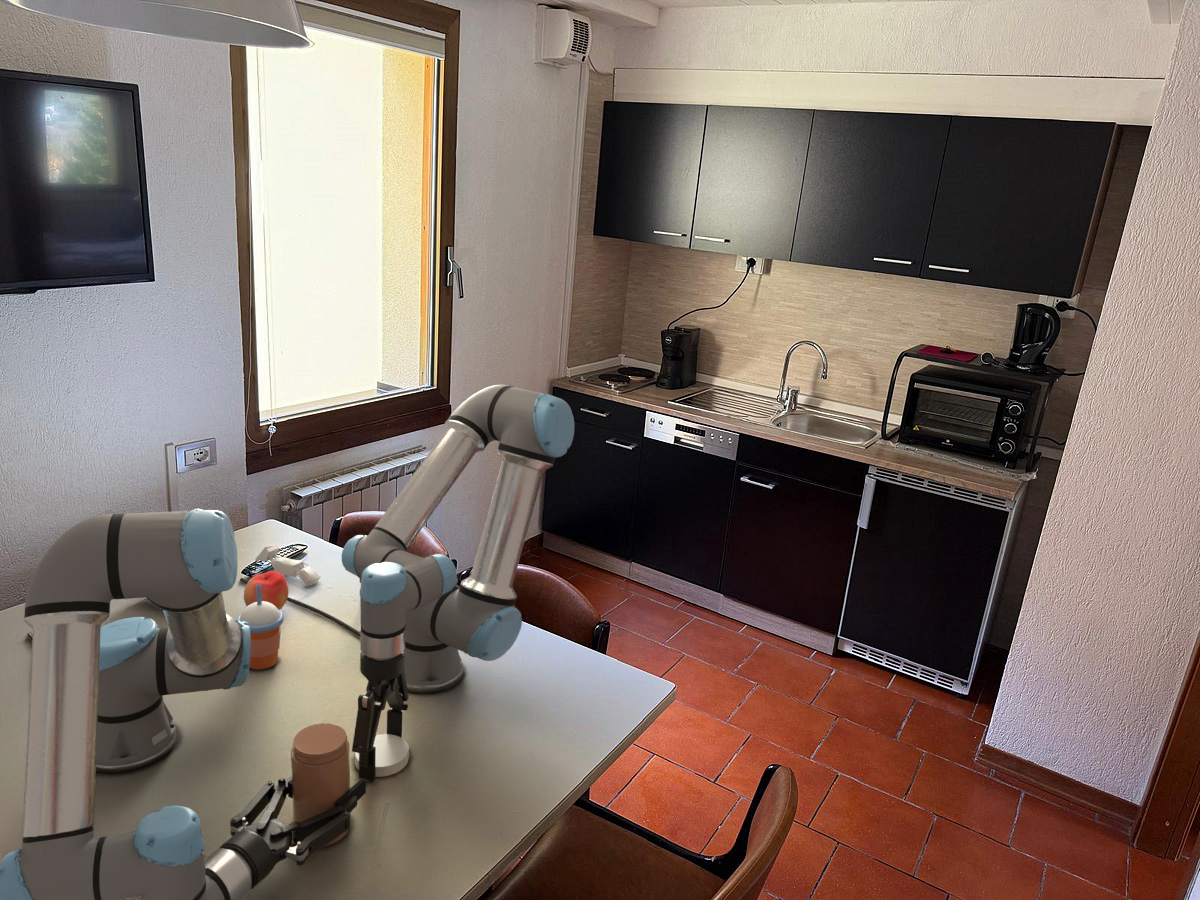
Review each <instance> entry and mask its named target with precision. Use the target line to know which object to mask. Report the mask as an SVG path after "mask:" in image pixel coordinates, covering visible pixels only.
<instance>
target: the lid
mask: <svg viewBox="0 0 1200 900" xmlns="http://www.w3.org/2000/svg"><path fill="white" fill-rule="evenodd" d="M373 746H374V747H376V760H375V778H382V777H388V776H392V775H394V774H397V773H399V772H400V771H402V770H403V769H404V768H405V767H406V766H407V764H408V763H409V758H410V747H409V744H408V742H407V741H406V740H405V739H404V738H403V737H402V738H401V737H399V736H396V735H392V734H387V733H379V734H376V736H375V741H374V745H373ZM354 765H355V767H356V770H358V771H359V753H356V752H354Z"/></svg>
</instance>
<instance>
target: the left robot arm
mask: <svg viewBox="0 0 1200 900" xmlns="http://www.w3.org/2000/svg"><path fill="white" fill-rule="evenodd" d="M237 577H238V549H237V543H236V539H235V531H234V527H233V524H232V521H231V519H230V517H229V516H228V515H227V514H226V513H225V512H223V511H221V510H217V509H202V508H193V509H191V510H176V511H155V512H154V511H152V512H131V513H130V512H129V513H127V512H126V513H104V514H103V513H102V514H98V515H93V516H91V517H88V518H85V519H84V520H82V521H79V522H78V523H76V524H75V525H73V526H72V527H70V528H69V529H67V530H66V531H65V532H63V533H62V535H60V536H59V537H57V539H56V540H55V542H53V544H52V545H51V546H50V547H49V548H48V549H47V550H46V552H45V553H44V555H43V556H42V558H41V560H40V561H39V563H38V565H37V566H36V569H35V571H34V573H33V575H32V577H31V579H30V582H29V585H28V587H27V591H26V596H25V603H24V617H23V622H24V623H25V624H26V625H28V626H29V627H30V628H31V630H32V632H27V634H26V635H27V637H28V638H29V639H30V641H31V642H32V644H31V661H30V663H31V664H30V680H29V681H30V682H29V697H28V698H29V699H28V700H29V701H28V718H27V736H26V738H27V739H26V740H27V741H26V754H25V756H26V758H25V774H24V775H25V778H24V791H23V793H24V795H23V813H22V814H23V815H22V830H21V831H22V833H21V837H22V842H21V848H20V847H19V848H18V849H16V850H11V851H9V852H8V853H6V854H5V855H4V856H3V857H2V859H1V861H0V900H126V899H131V898H136V897H140V900H243V899H244V898H245V897H246V896H247V895H248V894H249V892H250V891H251V890H253V889H254V888H256V887H257V886H258V885H259V884H260V883H261V882H262V881H263V880H265V878H267V877H268V875H270V874H271V872H272V871H273V869H274V868H275V866H276V865H277V864H278V863H280V862H281V861H283V860H286V859H287V858H290V859H293V860H295V864H296V865H297V866H303V865H304V864H306V862H307V861H308V860H309V859H310V857H311V856H312V855H313V854H315V853H316V852H319V850H321V849H323V848H324V847H326V846H325V845H327V844H328V843H330V842H331V841H333V840H334V839H335V838H337V837H338V836H340V835H341V834H343V833H344V832H346V831H347V830H348V831H349V830H350V829H351V813H352V811H353V810H355V809H356V808H357V806H358V801H359V800H360V799H361V798H363V796H365V795H366V794H367V780H366V779H365V778H361V779H359V780H358V781H356V783H355V784H353V785H352V786H350V789H349V790H348V791H347V792H346V793H345V794H344V795H342V796H341V797H340V798H339V799H338V800H337V801H336V802H335V807H334V808H332V809H329V810H327V811H325V812H322V813H320V814H318V815H315V816H313V817H311V818H308V819H306V820H304V821H301V822H297V821H295V822H293V821H292V822H291V823H283V822H280V821H279V820H278V818H279V815H280V813H281V810H282V809H283V805H284V804H285V802H286V799H287V797H288V798H290V799H293V794H292V775H290V777H288V778H287V779H286V778H284V777H281V778H279V779H278V780H277V783H275V781H273V780H269V781H267V782H266V783H265V784H264V785H263V787H262V788H261V789H260V790H259V791H258V792H257V793H256V794H255V795H254V796H253V798H252V799H251V800H250V802H249V803H248V804H247V805H246V806H245V807H244V808H243V809H242V811H241V812H239V813H238V814H236V815H234V816H233V817H231V818H230V820H229V825H230V826H229V827H230V829H229V830H230V835H231V837H230V838H229V839H227V840H226V841H225V842H224V843H223V844H221V845H220V847H219V848H217V849H216V850H214V851H213V852H211V854H209V855H208V856H207V857H206V858H205V839H204V837H203V833H202V825H201V819H200V817H199V815H198V813H197V812H196V811H195V810H194V809H192V808H190V807H188V806H184V805H176V804H175V805H167V806H163V807H161V808H160V809H159V810H157V811H151V812H149V813H148V814H146V815H145V816H143V818H142V819H141V820H140V821H139V822H138V824H137V826H136V828H135V831H132V832H131V831H130V832H126V833H119V834H112V835H105V836H100V837H95V836H94V825H95V808H96V781H97V780H96V778H97V777H96V776H97V772H99V773H100V772H101V773H110V774H111V773H113V774H114V773H124V772H129V771H134V770H136V769H141V768H143V767H146V766H149V765H151V764H153V763H155V762H157V761H159V760H160V759H162V758H163V757H165V756H166V755H167V754H168V753H169V752H170V751H171V750H172V749H173V748H174V747H175V745H176V743H177V742H178V728H177V723H176V722H175V719H174V717H173V715H172V713H171V711H170V710H169V708H168V706H167V704H166V703H165V701H164V696H170V695H178V694H187V693H196V692H197V693H198V692H205V691H206V692H207V691H215V690H230V689H231V688H232V689H233V688H238V687H242V686H244V685H246V684H247V682H248V679H249V674H250V667H249V663H250V644H251V639H250V626H249V623H247V622H245V621H237V619H236V620H234V619H233V617H231V616H230V615H228V614H227V610H226V604H225V600H224V595H223V592H227V591H230V590H231V589H233V587H234V585H235V583H236V581H237ZM143 598H146V599H147V601H149V603H151V605H153V606H154V607H156V608H157V609H160V610H161V611H162V613H163V615H164V618H165V620H166V623H167V625H168V627H161V628H159V625H158V624H157V622H156V621H155V620H153V619H152V618H149V617H148V618H147V617H145V616H133V617H126V618H122V619H118V620H115V621H112V622H109V623H107V624H104V623H105V622H106V621H107V620H108V619H109V618H110V616H111V615H110V614H111V602H112V600H128V599H130V600H131V599H143ZM103 624H104V625H103ZM102 625H103V626H102ZM29 633H31V634H32V636H33V638H32V637H31V636H30V635H29ZM265 809H266V810H265ZM261 813H262V815H261ZM260 815H261V817H260V819H259V821H258V822H256V823H254V822H255V821H256V820H257V818H258V817H259V816H260ZM327 846H328V845H327Z"/></svg>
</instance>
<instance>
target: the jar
mask: <svg viewBox="0 0 1200 900" xmlns="http://www.w3.org/2000/svg"><path fill="white" fill-rule="evenodd" d="M290 760H291V761H290V762H291V763H290V765H291V776H292V794H293V798H292V818H293V820H292V823H293V822H295V821H297V822H301V821H304V820H306V819H308V818H311V817H313V816H315V815H318V814H320V813H322V812H325V811H327V810H329V809H332V808H334V807H335V802H336V801H337V800H338V799H339V798H340V797H341V796H342V795H344V794H345V793H346V792H347V791H348V790H349V789H350V788H351V781H350V780H351V777H350V776H351V775H350V773H351V772H350V771H351V770H350V768H351V767H350V742H349V740H348V735H347V732H346V730H345V729H344V728H343V727H342V726H340V725H337V724H335V723H331V722H330V723H328V722H320V723H315V724H314V723H313V724H310V725H308V726H306V727H304V728H302V729H301V730H299V731H298V732H297V733H296V734H295V736H294V738H293V739H292V747H291V750H290ZM348 832H349V830H347V831H346V832H344V833H343V834H341V835H340V836H338V837H337V838H335V839H334V840H333V841H331V842H330V843H328V844H327V845H325V846H324V847H326V846H330V845H333V844H335V843H337V842H339V841H340V840H342V839H343V838H344V837H345V836H346V835H347V833H348Z"/></svg>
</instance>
